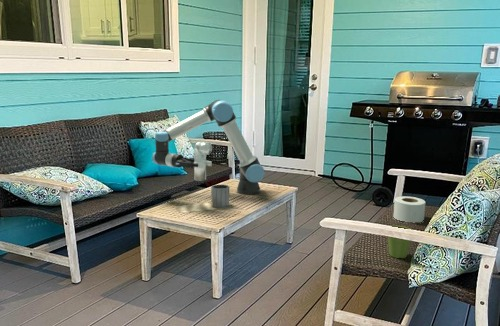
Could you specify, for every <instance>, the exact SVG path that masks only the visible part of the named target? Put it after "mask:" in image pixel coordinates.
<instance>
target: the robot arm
mask: <svg viewBox="0 0 500 326" xmlns="http://www.w3.org/2000/svg"><path fill="white" fill-rule="evenodd" d="M236 119H237V116H236V114H235V113H234V108H233V106H232V105H231V103H229V102H228V101H226V100H224V99H216V100H214V101H213V102H210V103H209V104H207V105H206V106H204V107H203V108H202V110H200V111H198V112H197V113H194V114H193V115H190V116H189V117H187V118H185V119H183V120H182V121H180V122H178V123H175V124H173V125H172V126H170V127H168V128H166V129H164V130H162V131H157V132H155V134H154V140H155V141H154V143H155V152H152V156H151V160H152V163H154V164H155V165H159V166H166V167H170V168H182V167H183V168H189V169H190V168H191V169H194V167H196V168H202V169H203V168H204V163H197V162H194V157H190V158H189V157H184V156H183V154H179V153H171V152H170V151H169V150H170V149H169V147H170V146H169V145H170V143H169V142H171V141H174V140H175V139H177V138H179V137H181V136H183V135H185V134H186V133H188V132H191V131H192V130H195V129H196V128H198V127H199V126H202V125H203V124H205V123H207V122H210V123H211V122H213V121H215V122H216V124H217V126H218V127H219V128H221V129H222V130H223V132H224V133H225V136H226V137H227V139H228V141H229V144H231V147H232V148H233V150H234V152H235V155H236V156H237V158H238V160H239V181H238V183H237V187H236V192H237V193H238V194H241V195H247V196H249V195H251V196H252V195H257V194H260V193H261V187H260V184H259V182H260V181H261V180H263V178H264V176H265V168H264V167H263V165H261V163H260V161H259V158H258V157H257V156H256V155H253V153H252V151H251V149H250V147H249V145H248V143H247V141H246V139H245V137H244V136H243V134H242V132H241V129H240V127H239V126H238V124H237V123H236ZM212 162H213V161H211V160H206V167H213V166H212Z"/></svg>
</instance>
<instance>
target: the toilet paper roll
mask: <svg viewBox="0 0 500 326" xmlns="http://www.w3.org/2000/svg"><path fill="white" fill-rule="evenodd" d="M393 204H394V205H393V216H392V217H394V218H395V219H397V220H400V221H405V222H413V223H415V222H422V221H423V220H424V221H425V212H426V211H425V210H426V204H427V203H426V201H425V200H424V199H422V198H418V197H414V196H404V195H401V196H397V197H395V198H394V203H393ZM394 218H393V219H394ZM395 219H394V220H395ZM424 221H423V222H424ZM423 222H422V223H423Z"/></svg>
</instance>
